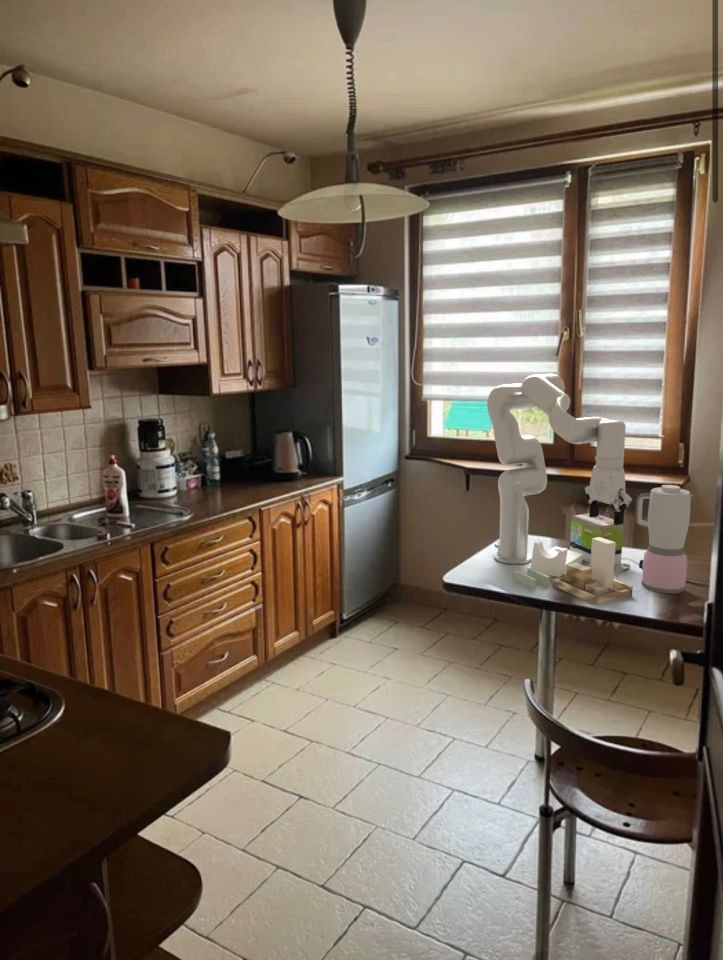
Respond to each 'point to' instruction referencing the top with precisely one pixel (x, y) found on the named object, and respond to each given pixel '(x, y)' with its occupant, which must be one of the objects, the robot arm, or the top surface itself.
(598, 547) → the tall board
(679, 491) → the blender
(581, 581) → the offcut
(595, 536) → the tea box
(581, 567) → the offcut
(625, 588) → the tray
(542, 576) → the holder
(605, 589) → the offcut
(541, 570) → the white saddle block
